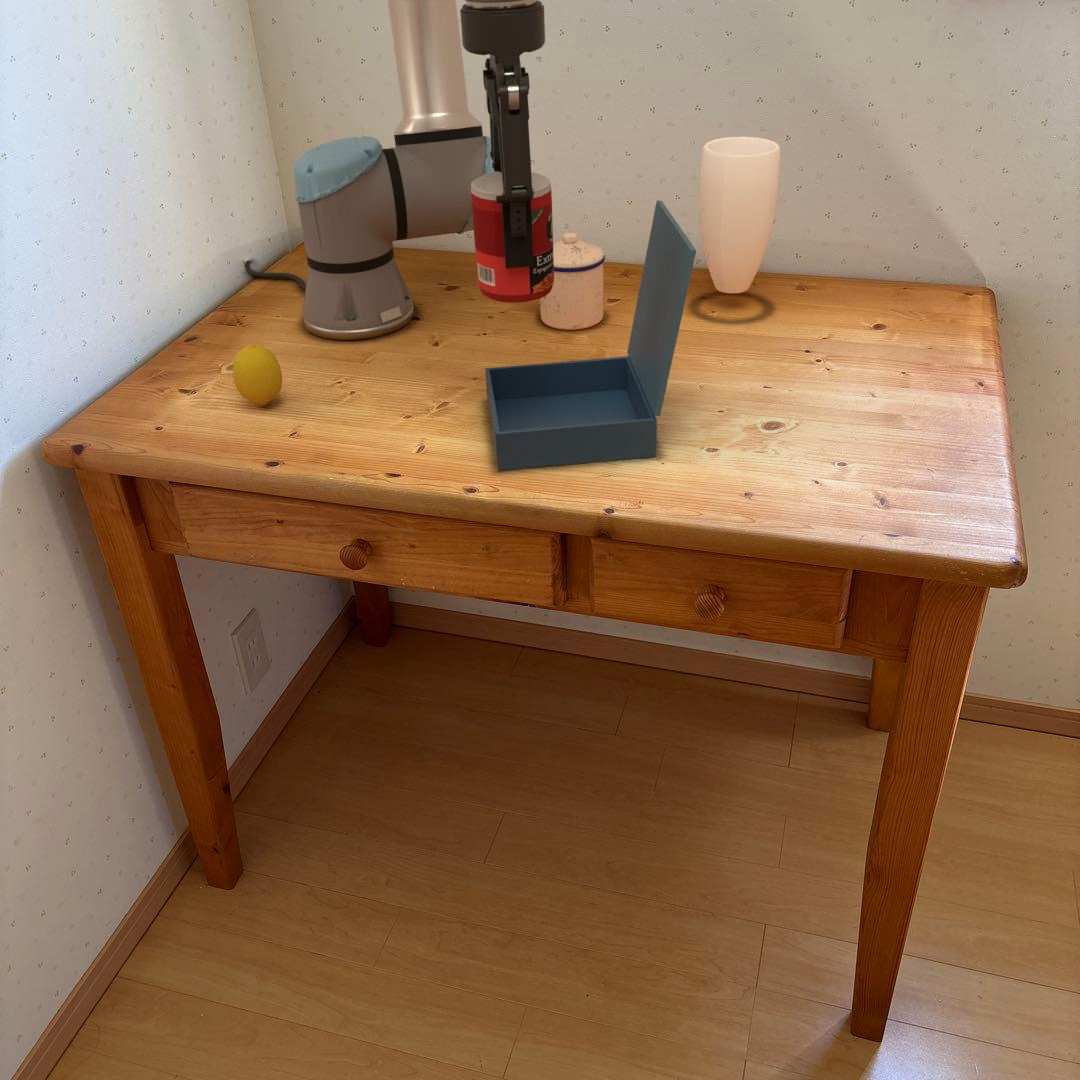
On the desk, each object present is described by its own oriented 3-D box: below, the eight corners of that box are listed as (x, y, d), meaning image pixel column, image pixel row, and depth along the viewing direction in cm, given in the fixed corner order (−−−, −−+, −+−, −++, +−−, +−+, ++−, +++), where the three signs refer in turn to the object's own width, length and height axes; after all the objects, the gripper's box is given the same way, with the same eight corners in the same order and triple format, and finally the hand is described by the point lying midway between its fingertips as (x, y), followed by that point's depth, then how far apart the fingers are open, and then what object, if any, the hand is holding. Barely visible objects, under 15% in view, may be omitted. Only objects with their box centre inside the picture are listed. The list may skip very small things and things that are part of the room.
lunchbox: (498, 471, 111) (495, 433, 108) (487, 402, 124) (484, 368, 122) (656, 456, 112) (657, 419, 110) (629, 390, 125) (629, 355, 123)
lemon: (247, 420, 123) (233, 357, 118) (235, 402, 127) (221, 340, 122) (293, 409, 125) (280, 346, 120) (280, 391, 129) (268, 330, 124)
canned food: (547, 305, 105) (543, 194, 99) (470, 302, 106) (461, 193, 100) (560, 277, 111) (557, 171, 105) (487, 274, 112) (479, 170, 106)
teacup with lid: (613, 308, 146) (613, 225, 139) (594, 334, 139) (593, 248, 132) (532, 301, 150) (528, 219, 143) (509, 325, 143) (504, 241, 136)
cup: (780, 301, 146) (795, 140, 134) (750, 327, 139) (764, 160, 127) (711, 288, 151) (720, 132, 138) (679, 313, 144) (685, 151, 131)
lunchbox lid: (690, 249, 100) (696, 250, 100) (656, 200, 113) (662, 200, 113) (654, 416, 109) (659, 416, 109) (627, 352, 122) (632, 353, 123)
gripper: (559, 16, 85) (566, 285, 98) (529, -18, 102) (538, 216, 115) (467, 22, 84) (486, 292, 98) (452, -13, 101) (470, 221, 114)
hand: (514, 250), depth 106 cm, fingers closed on canned food, 8 cm apart
